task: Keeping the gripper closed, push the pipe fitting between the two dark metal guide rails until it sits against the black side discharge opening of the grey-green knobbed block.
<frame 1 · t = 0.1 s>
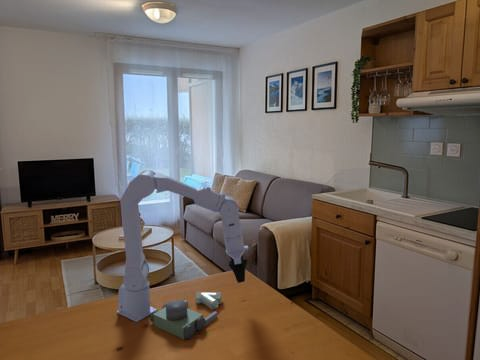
hand: (240, 276, 111), 11 cm above the table, tool pointing down, fingers open, 7 cm apart
pipe fitting: (208, 306, 114), on the table
grey-green knobbed block: (178, 325, 103), on the table
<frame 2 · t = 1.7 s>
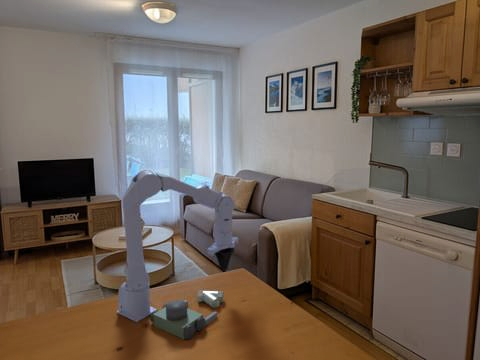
hand: (223, 269, 119), 9 cm above the table, tool pointing down, fingers closed
pipe fitting: (210, 304, 115), on the table
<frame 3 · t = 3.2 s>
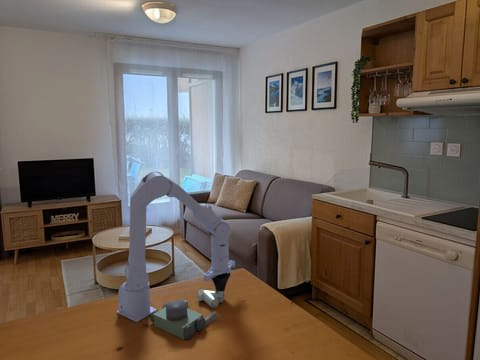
hand: (220, 293, 119), 1 cm above the table, tool pointing down, fingers closed
pipe fitting: (209, 304, 115), on the table, touching gripper
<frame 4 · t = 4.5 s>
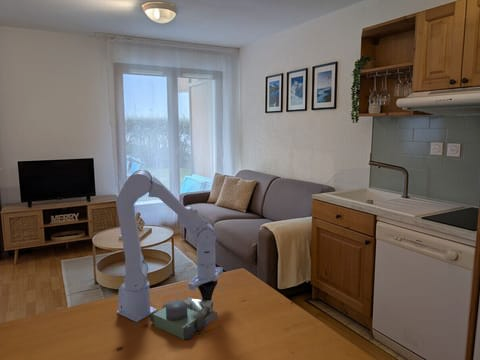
hand: (206, 302, 113), 1 cm above the table, tool pointing down, fingers closed
pipe fitting: (198, 314, 109), on the table, touching gripper
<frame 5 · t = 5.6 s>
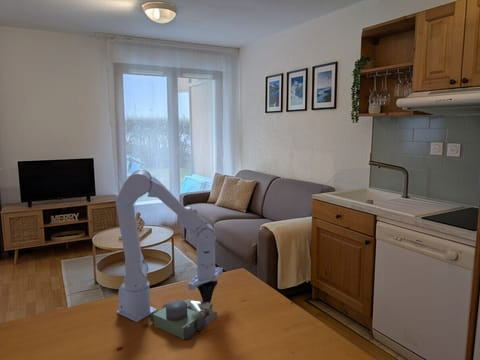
hand: (206, 302, 113), 1 cm above the table, tool pointing down, fingers closed
pipe fitting: (196, 316, 109), on the table
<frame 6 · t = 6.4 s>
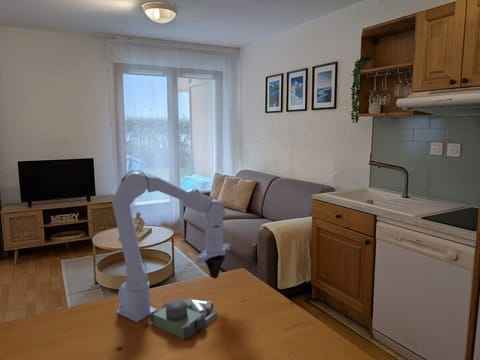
hand: (214, 277, 115), 8 cm above the table, tool pointing down, fingers closed
nothing on the table moved.
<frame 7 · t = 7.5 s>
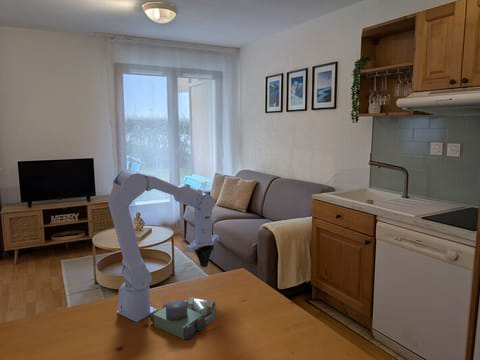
hand: (203, 266, 122), 9 cm above the table, tool pointing down, fingers closed
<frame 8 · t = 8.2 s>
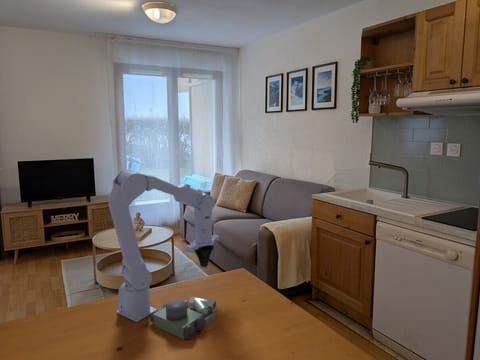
hand: (203, 266, 122), 9 cm above the table, tool pointing down, fingers closed
at the end: pipe fitting 1.6 cm from the target spot, on the table; pipe fitting moved 4.1 cm from its start; the gripper is holding nothing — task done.
